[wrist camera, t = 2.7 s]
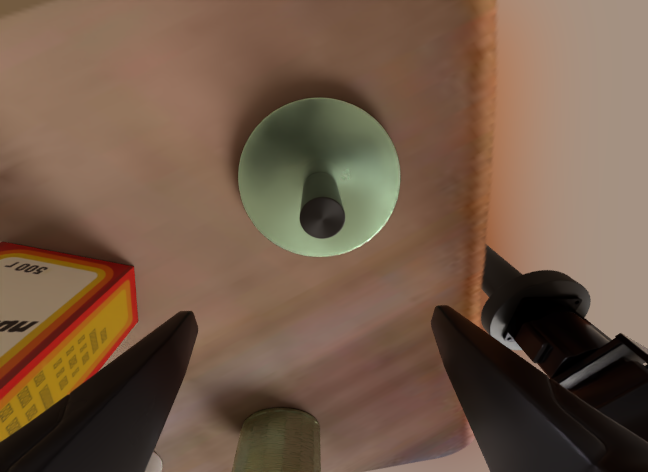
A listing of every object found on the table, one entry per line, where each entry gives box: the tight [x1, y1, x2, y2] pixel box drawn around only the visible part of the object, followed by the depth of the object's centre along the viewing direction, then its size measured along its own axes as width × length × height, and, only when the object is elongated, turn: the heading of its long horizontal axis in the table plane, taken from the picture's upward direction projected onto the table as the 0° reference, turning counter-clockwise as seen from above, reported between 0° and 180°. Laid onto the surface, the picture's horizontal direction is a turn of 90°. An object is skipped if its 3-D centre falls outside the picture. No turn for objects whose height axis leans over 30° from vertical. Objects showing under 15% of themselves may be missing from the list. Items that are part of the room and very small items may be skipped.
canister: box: [232, 408, 321, 472], centre depth 32 cm, size 10×10×6 cm
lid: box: [238, 97, 401, 257], centre depth 16 cm, size 11×11×6 cm
